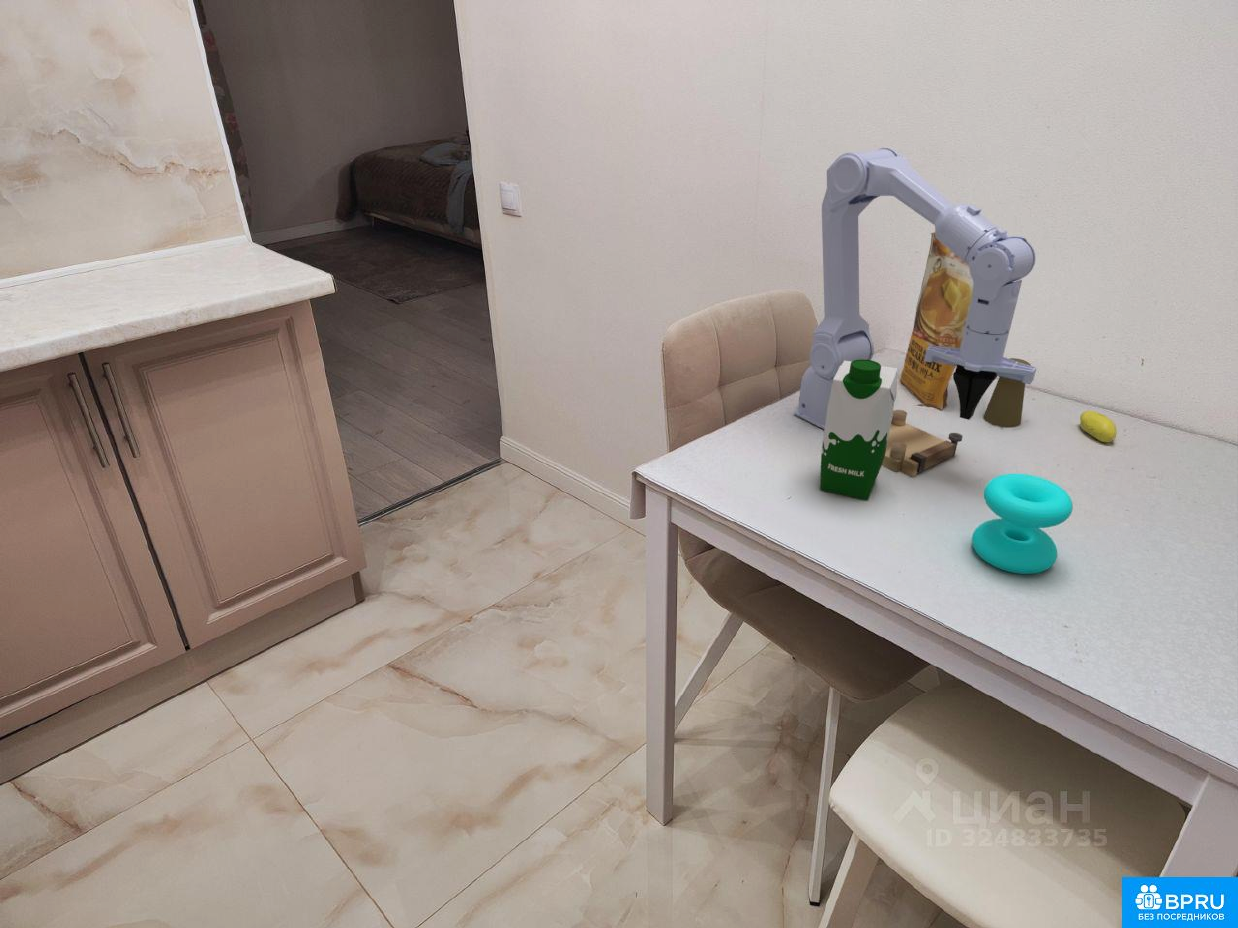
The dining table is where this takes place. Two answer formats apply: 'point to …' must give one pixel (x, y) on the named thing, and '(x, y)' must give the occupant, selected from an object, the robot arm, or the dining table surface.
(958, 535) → the dining table surface
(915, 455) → the hinged leg
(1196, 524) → the dining table surface
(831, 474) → the milk carton
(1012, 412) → the cork
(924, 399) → the pancake mix bag
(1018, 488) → the donuts
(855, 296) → the robot arm
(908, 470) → the stool seat
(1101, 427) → the lemon
